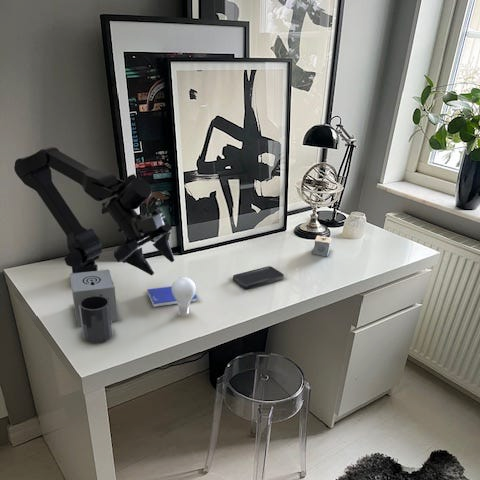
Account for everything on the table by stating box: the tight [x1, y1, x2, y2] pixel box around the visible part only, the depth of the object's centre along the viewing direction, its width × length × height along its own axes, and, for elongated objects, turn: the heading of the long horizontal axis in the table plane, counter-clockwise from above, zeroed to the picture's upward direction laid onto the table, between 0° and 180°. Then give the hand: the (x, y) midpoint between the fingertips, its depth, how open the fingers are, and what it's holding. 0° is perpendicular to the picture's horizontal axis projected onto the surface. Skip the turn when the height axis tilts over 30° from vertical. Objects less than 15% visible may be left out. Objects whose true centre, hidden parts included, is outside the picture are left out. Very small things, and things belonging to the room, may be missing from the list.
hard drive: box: [146, 285, 198, 308], centre depth 142 cm, size 2×8×12 cm
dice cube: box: [312, 234, 332, 257], centre depth 174 cm, size 5×5×5 cm
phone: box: [232, 265, 285, 290], centre depth 155 cm, size 8×1×15 cm
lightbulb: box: [171, 277, 197, 317], centre depth 132 cm, size 6×6×11 cm
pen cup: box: [79, 295, 113, 344], centre depth 122 cm, size 7×7×10 cm
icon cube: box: [69, 269, 118, 327], centre depth 130 cm, size 10×10×10 cm
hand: (163, 267), depth 131 cm, fingers open, 9 cm apart
